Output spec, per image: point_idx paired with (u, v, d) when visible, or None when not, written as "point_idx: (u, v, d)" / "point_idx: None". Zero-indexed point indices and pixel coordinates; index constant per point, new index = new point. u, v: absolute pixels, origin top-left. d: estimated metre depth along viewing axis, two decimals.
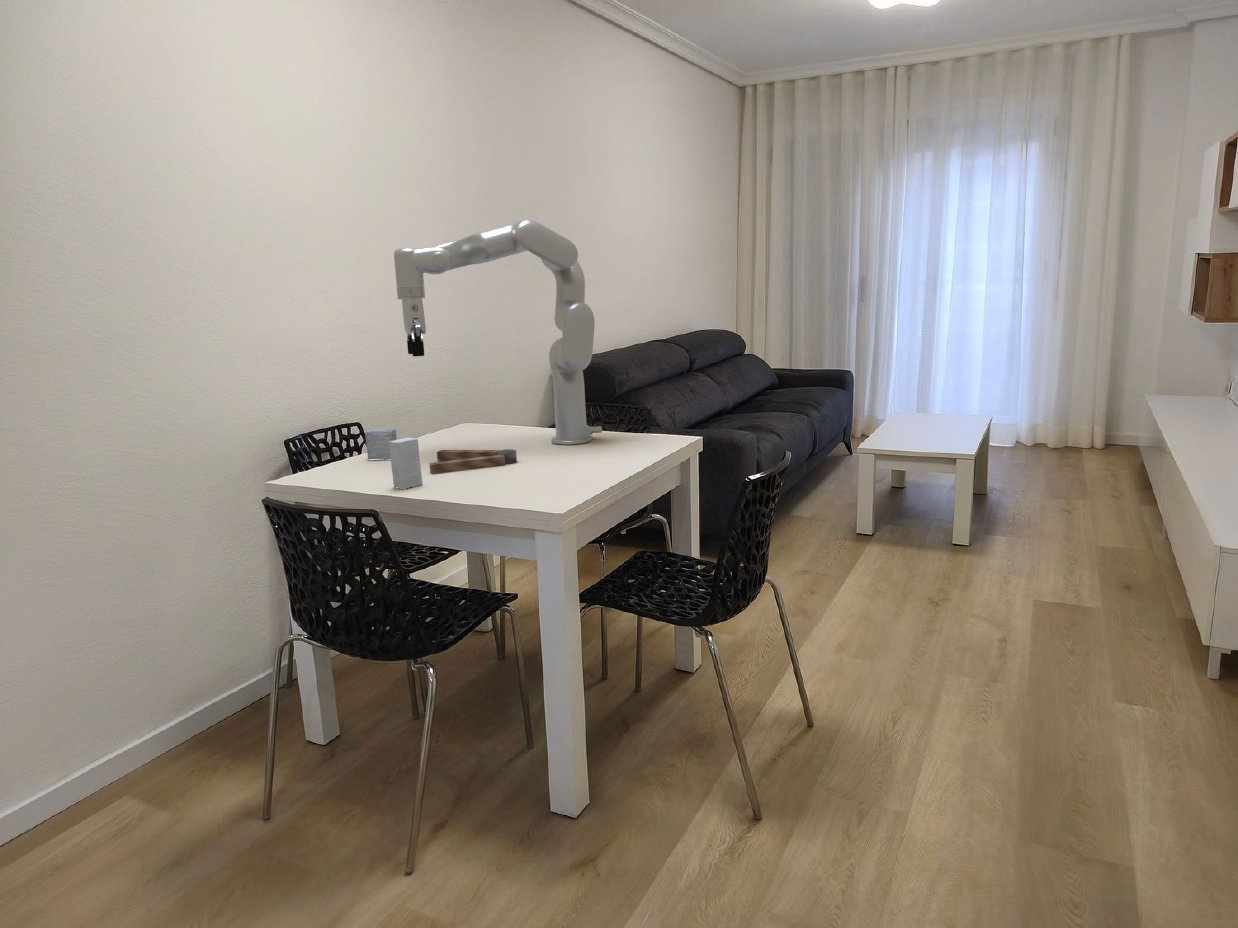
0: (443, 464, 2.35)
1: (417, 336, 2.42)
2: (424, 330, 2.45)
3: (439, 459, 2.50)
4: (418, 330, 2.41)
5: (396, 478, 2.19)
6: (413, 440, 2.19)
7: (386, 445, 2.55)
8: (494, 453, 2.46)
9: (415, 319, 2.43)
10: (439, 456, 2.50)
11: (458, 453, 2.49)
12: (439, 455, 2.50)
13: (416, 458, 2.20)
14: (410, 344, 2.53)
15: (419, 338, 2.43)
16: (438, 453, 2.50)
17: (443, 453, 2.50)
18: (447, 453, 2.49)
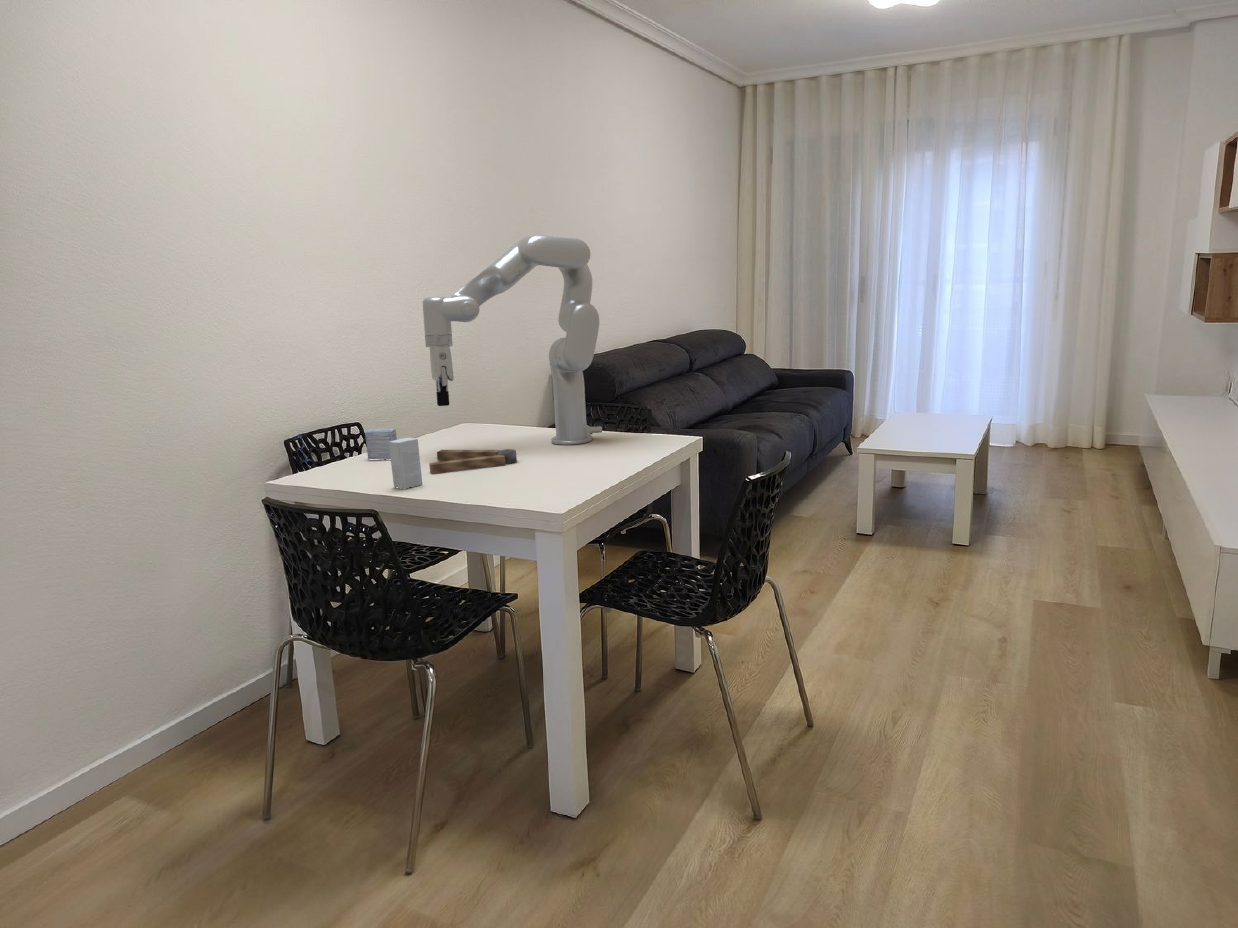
0: (443, 464, 2.35)
1: (443, 387, 2.50)
2: (452, 378, 2.48)
3: (439, 459, 2.50)
4: (444, 386, 2.49)
5: (396, 478, 2.19)
6: (413, 440, 2.19)
7: (386, 445, 2.55)
8: (494, 453, 2.46)
9: (443, 371, 2.48)
10: (439, 456, 2.50)
11: (458, 453, 2.49)
12: (439, 455, 2.50)
13: (416, 458, 2.20)
14: None
15: (445, 389, 2.51)
16: (438, 453, 2.50)
17: (443, 453, 2.50)
18: (447, 453, 2.49)
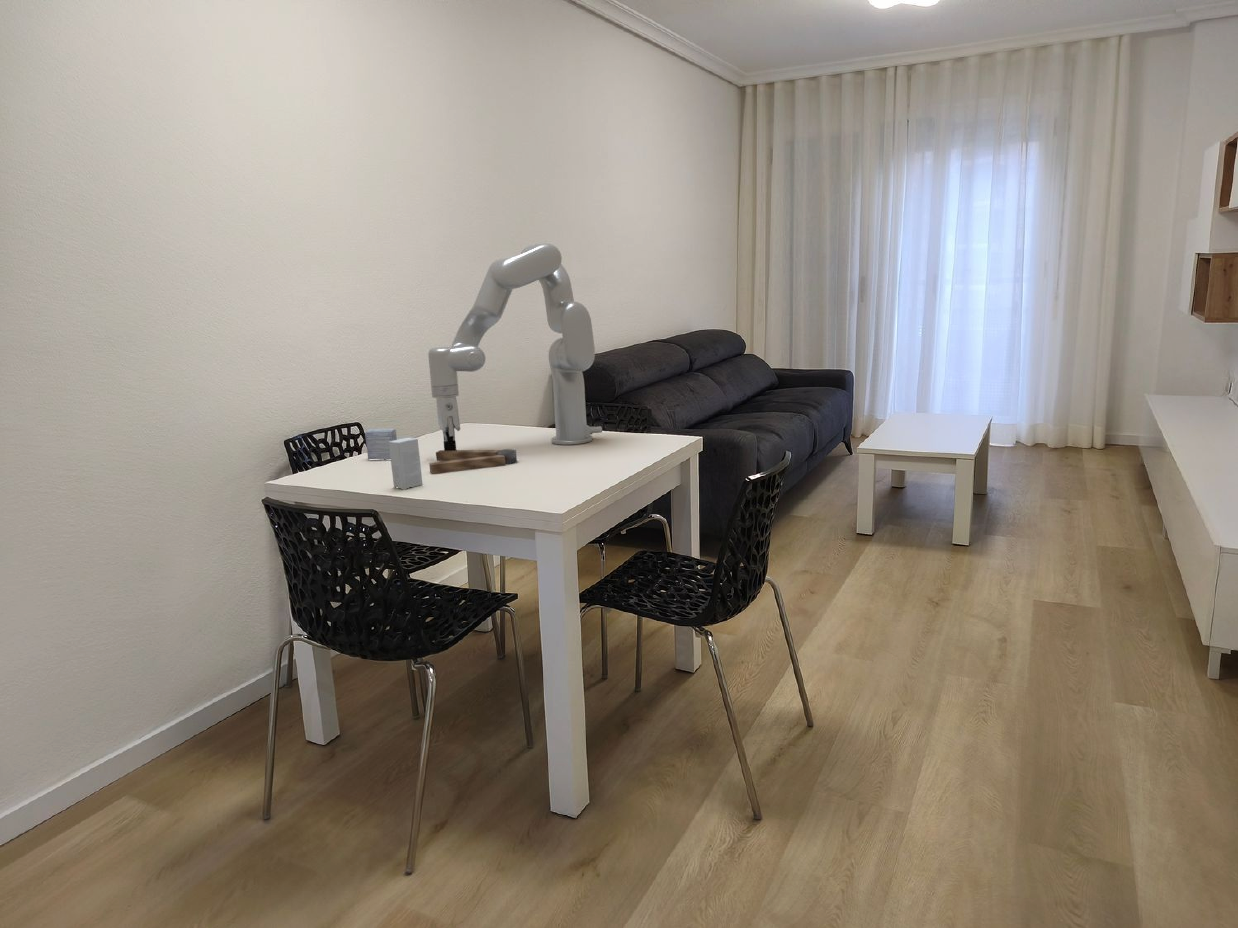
0: (443, 464, 2.35)
1: (450, 437, 2.50)
2: (458, 428, 2.49)
3: (438, 460, 2.50)
4: (451, 436, 2.49)
5: (396, 478, 2.19)
6: (413, 440, 2.19)
7: (386, 445, 2.55)
8: (494, 453, 2.46)
9: (449, 421, 2.48)
10: (438, 457, 2.50)
11: (457, 453, 2.48)
12: (438, 455, 2.50)
13: (416, 458, 2.20)
14: None
15: (451, 438, 2.51)
16: (437, 454, 2.50)
17: (442, 453, 2.49)
18: (446, 453, 2.49)
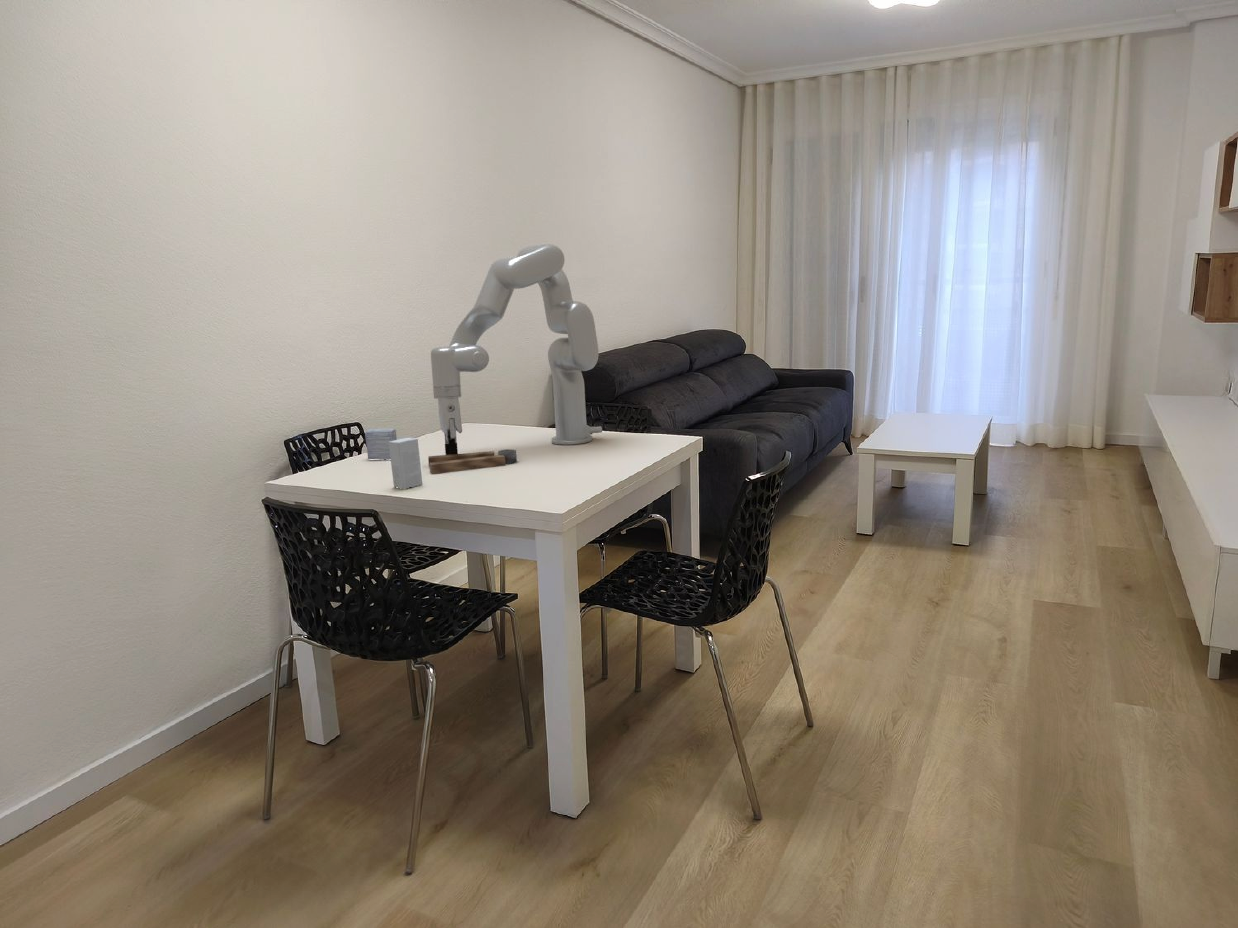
0: (443, 464, 2.35)
1: (451, 439, 2.43)
2: (460, 430, 2.42)
3: None
4: (453, 439, 2.42)
5: (396, 478, 2.19)
6: (413, 440, 2.19)
7: (386, 445, 2.55)
8: (492, 454, 2.44)
9: (451, 423, 2.41)
10: (431, 462, 2.42)
11: (452, 457, 2.43)
12: (431, 461, 2.42)
13: (416, 458, 2.20)
14: None
15: (453, 441, 2.44)
16: (430, 459, 2.42)
17: (435, 459, 2.42)
18: (440, 459, 2.42)
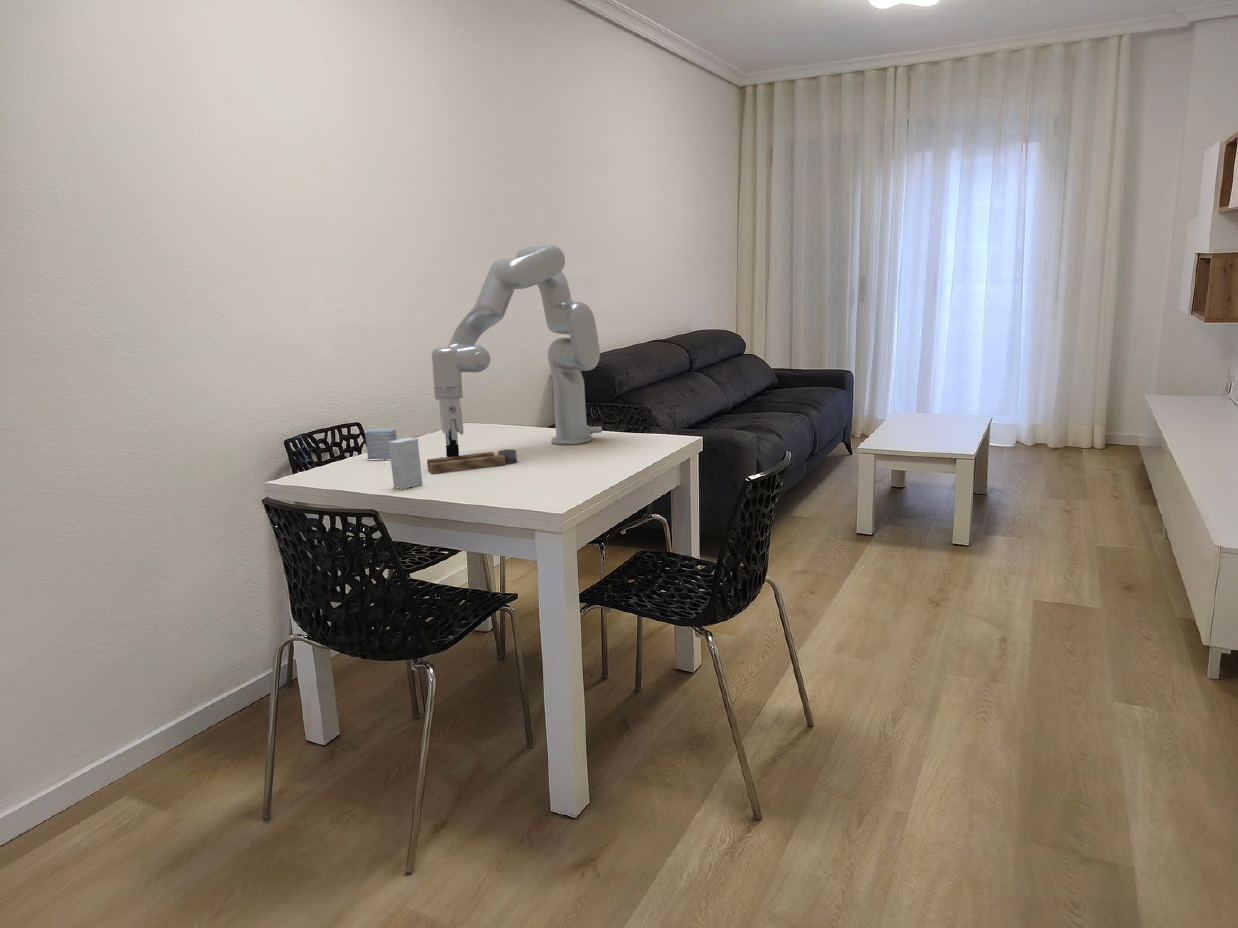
0: (443, 464, 2.35)
1: (452, 440, 2.40)
2: (461, 431, 2.39)
3: None
4: (454, 440, 2.39)
5: (396, 478, 2.19)
6: (413, 440, 2.19)
7: (386, 445, 2.55)
8: (492, 455, 2.43)
9: (452, 424, 2.38)
10: None
11: None
12: None
13: (416, 458, 2.20)
14: None
15: (454, 442, 2.41)
16: (430, 462, 2.38)
17: None
18: (440, 461, 2.39)
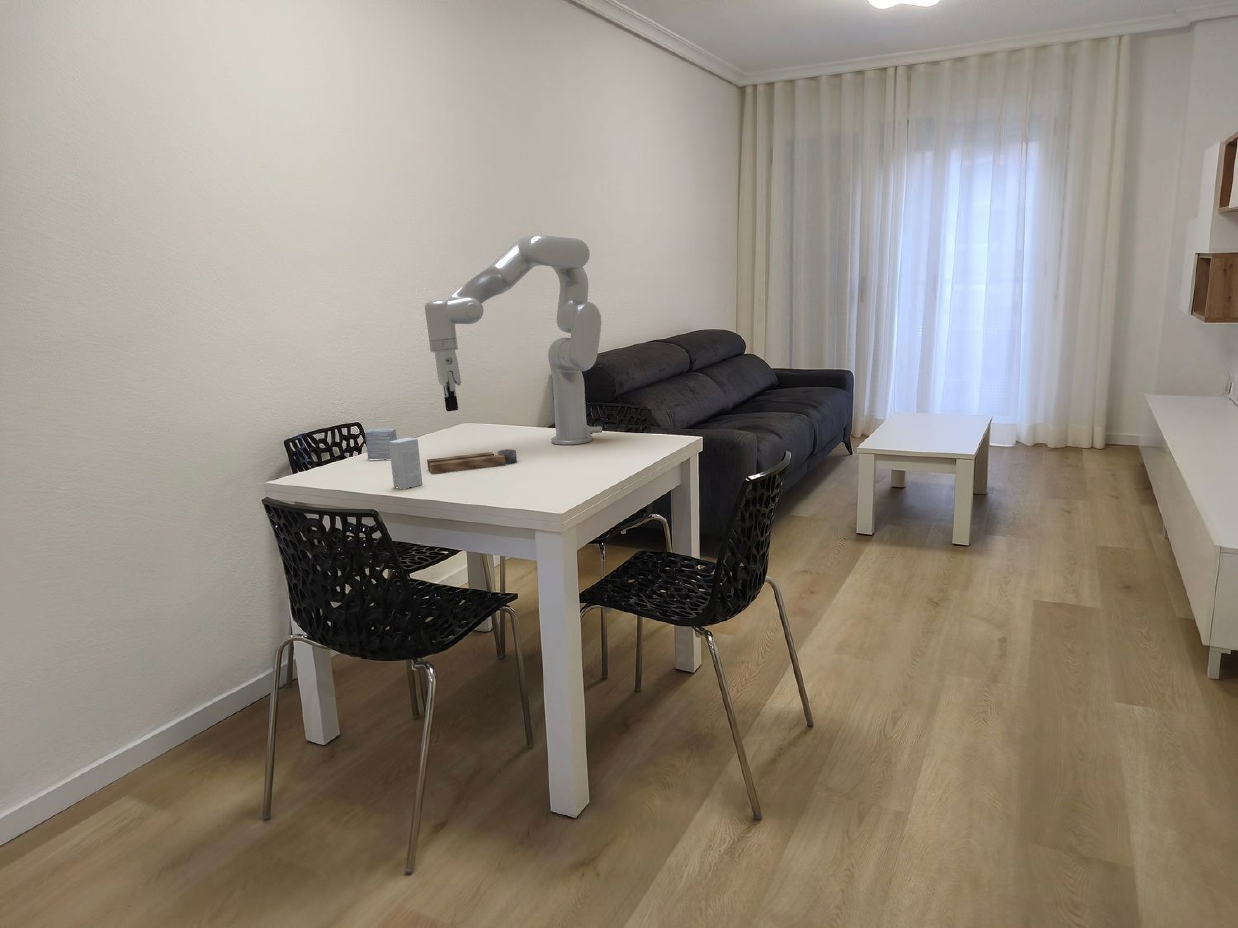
0: (443, 464, 2.35)
1: (451, 392, 2.45)
2: (459, 382, 2.43)
3: None
4: (452, 391, 2.43)
5: (396, 478, 2.19)
6: (413, 440, 2.19)
7: (386, 445, 2.55)
8: (492, 455, 2.43)
9: (450, 376, 2.42)
10: None
11: None
12: None
13: (416, 458, 2.20)
14: None
15: (452, 393, 2.46)
16: (430, 462, 2.38)
17: None
18: (440, 461, 2.39)
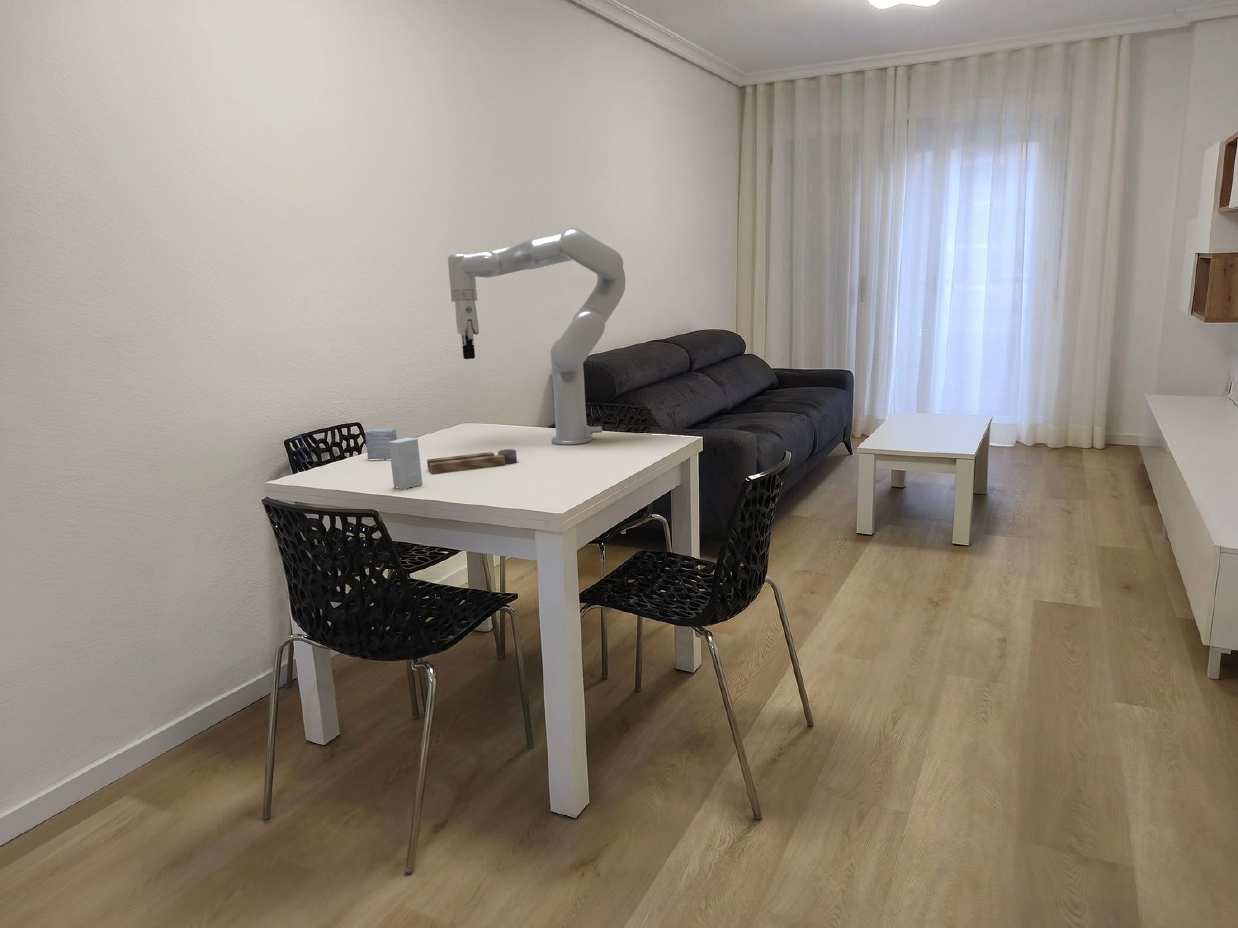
0: (443, 464, 2.35)
1: (469, 340, 2.60)
2: (477, 331, 2.58)
3: None
4: (470, 339, 2.59)
5: (396, 478, 2.19)
6: (413, 440, 2.19)
7: (386, 445, 2.55)
8: (492, 455, 2.43)
9: (469, 324, 2.58)
10: None
11: None
12: None
13: (416, 458, 2.20)
14: None
15: (470, 342, 2.61)
16: (430, 462, 2.38)
17: None
18: (440, 461, 2.39)
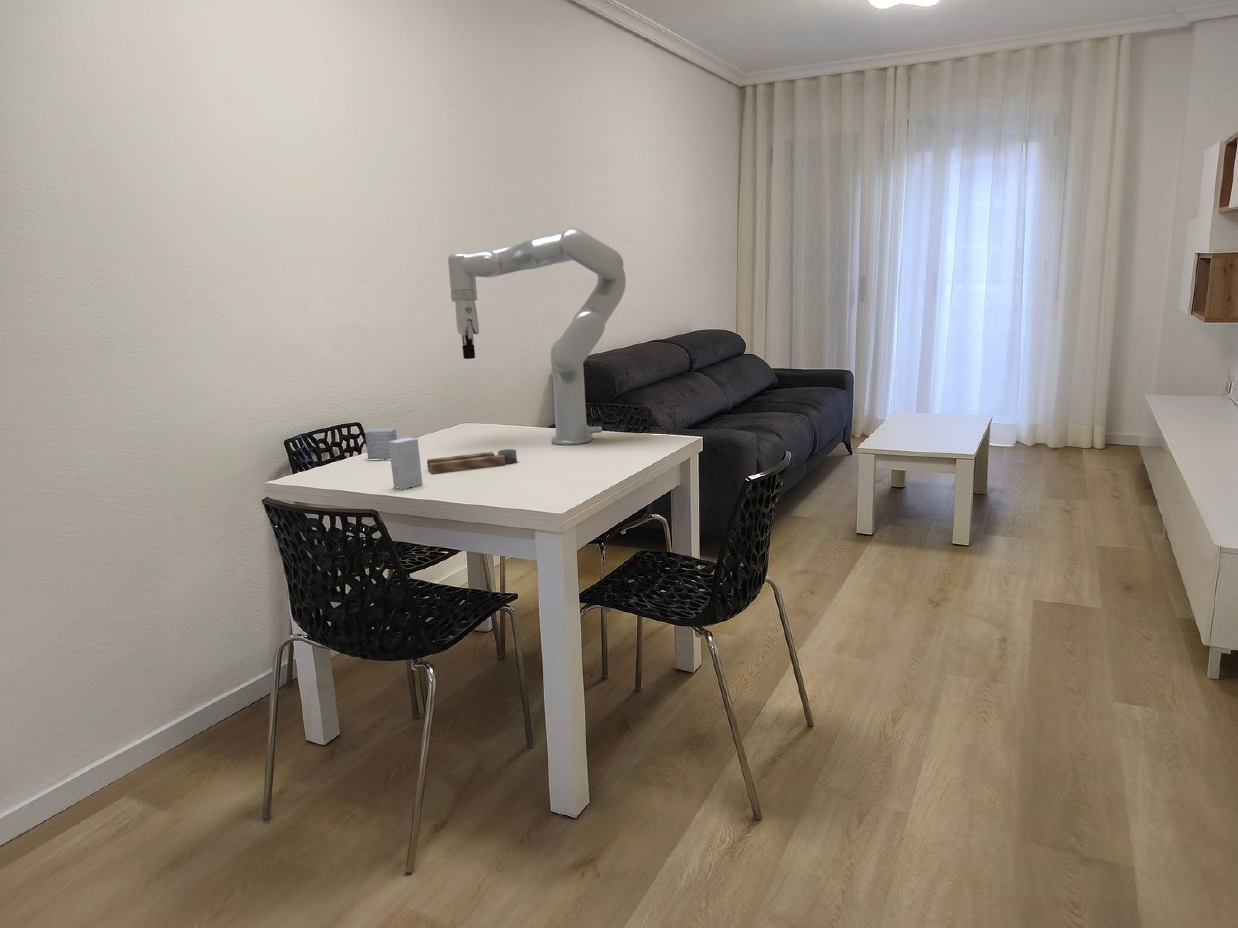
0: (443, 464, 2.35)
1: (469, 340, 2.60)
2: (477, 331, 2.58)
3: None
4: (470, 339, 2.59)
5: (396, 478, 2.19)
6: (413, 440, 2.19)
7: (386, 445, 2.55)
8: (492, 455, 2.43)
9: (469, 324, 2.58)
10: None
11: None
12: None
13: (416, 458, 2.20)
14: None
15: (470, 342, 2.61)
16: (430, 462, 2.38)
17: None
18: (440, 461, 2.39)
